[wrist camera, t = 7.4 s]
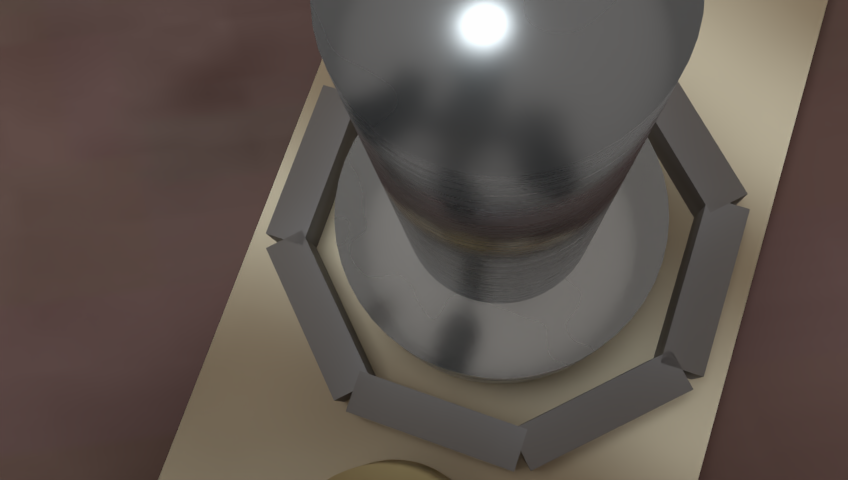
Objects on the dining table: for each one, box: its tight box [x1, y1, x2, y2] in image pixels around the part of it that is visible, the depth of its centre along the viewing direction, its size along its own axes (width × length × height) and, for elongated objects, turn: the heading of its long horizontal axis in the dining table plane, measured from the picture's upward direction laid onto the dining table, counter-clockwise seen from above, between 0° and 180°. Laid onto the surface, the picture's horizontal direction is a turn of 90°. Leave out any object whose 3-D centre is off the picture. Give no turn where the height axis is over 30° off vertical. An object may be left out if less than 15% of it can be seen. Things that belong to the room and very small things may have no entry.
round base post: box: [310, 0, 704, 384], centre depth 12 cm, size 6×6×10 cm
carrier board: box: [158, 0, 828, 480], centre depth 17 cm, size 20×10×3 cm, turn 161°
